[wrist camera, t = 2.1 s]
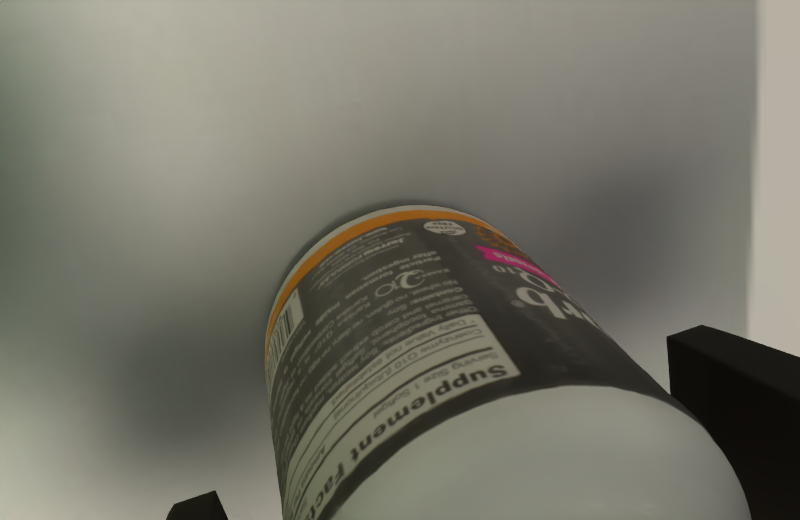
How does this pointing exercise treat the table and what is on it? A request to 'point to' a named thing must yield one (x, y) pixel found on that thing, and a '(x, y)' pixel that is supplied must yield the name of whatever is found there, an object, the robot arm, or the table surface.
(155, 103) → the table surface
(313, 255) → the pill bottle
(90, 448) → the table surface
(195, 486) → the table surface
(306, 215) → the table surface
